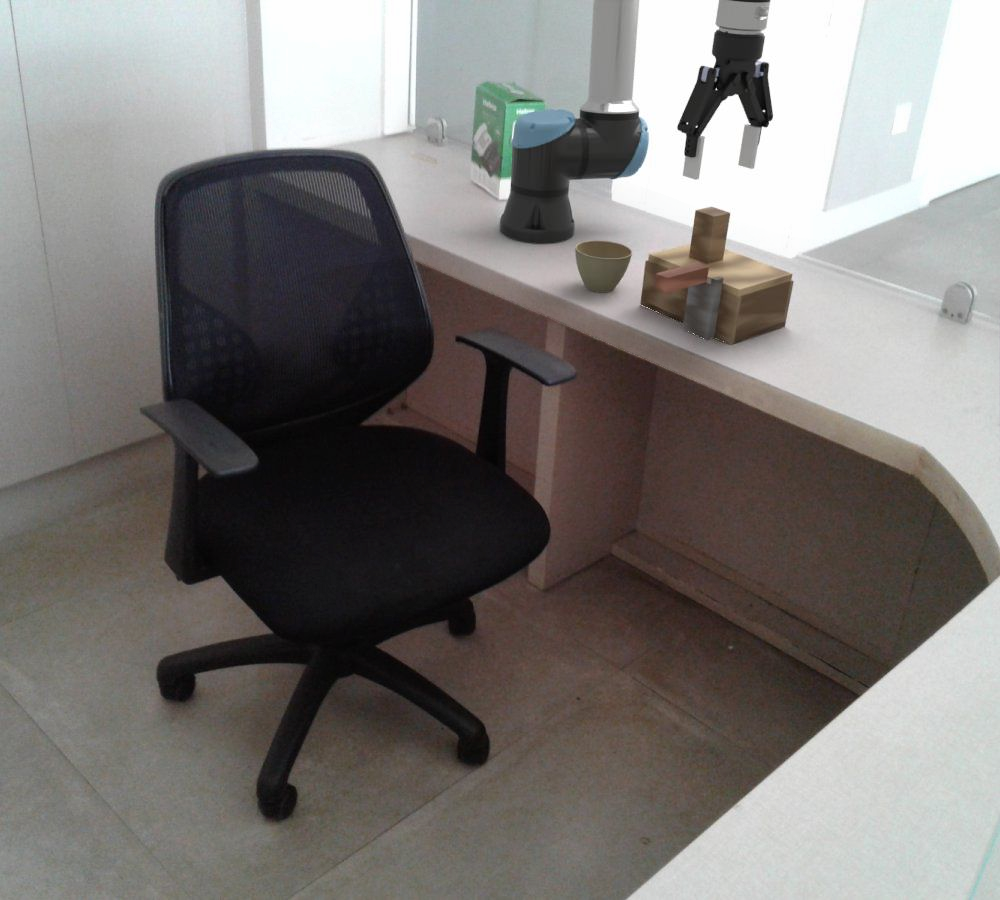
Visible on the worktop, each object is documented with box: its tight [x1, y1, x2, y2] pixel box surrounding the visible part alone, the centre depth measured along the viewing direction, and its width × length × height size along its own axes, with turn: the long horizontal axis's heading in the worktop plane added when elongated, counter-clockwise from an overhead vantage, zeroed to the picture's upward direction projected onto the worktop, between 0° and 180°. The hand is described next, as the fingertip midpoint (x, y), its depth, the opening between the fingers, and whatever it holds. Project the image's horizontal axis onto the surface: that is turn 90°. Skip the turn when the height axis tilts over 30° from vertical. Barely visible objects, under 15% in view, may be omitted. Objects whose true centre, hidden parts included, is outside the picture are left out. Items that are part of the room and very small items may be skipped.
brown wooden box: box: [640, 259, 795, 346], centre depth 174 cm, size 20×16×10 cm
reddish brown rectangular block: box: [654, 262, 709, 294], centre depth 162 cm, size 2×10×2 cm, turn 129°
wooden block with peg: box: [647, 206, 793, 297], centre depth 171 cm, size 19×13×9 cm
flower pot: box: [574, 240, 633, 293], centre depth 185 cm, size 10×10×7 cm
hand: (718, 172), depth 168 cm, fingers open, 13 cm apart
